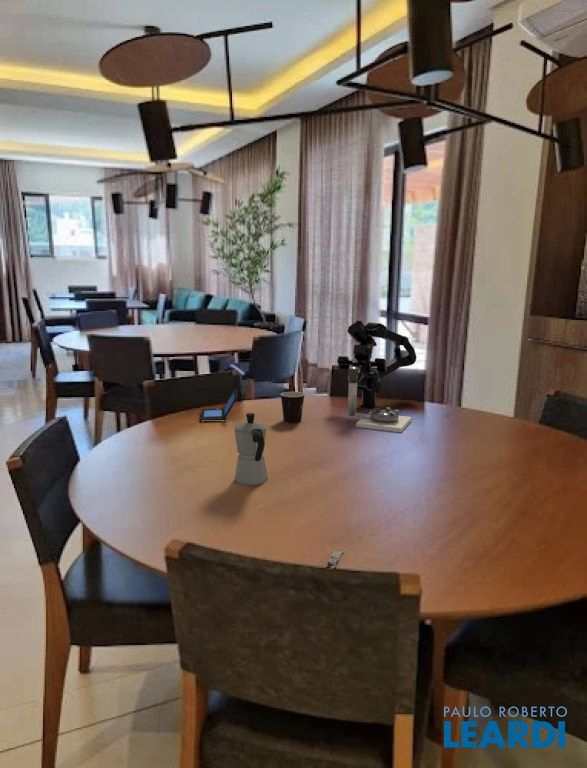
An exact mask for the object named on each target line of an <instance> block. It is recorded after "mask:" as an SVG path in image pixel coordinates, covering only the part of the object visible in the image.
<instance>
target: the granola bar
mask: <svg viewBox="0 0 587 768" xmlns="http://www.w3.org/2000/svg"><path fill="white" fill-rule="evenodd" d="M343 554H345V551H343V550H342V551H341V550H340V551H339V550H334V549H333V550H332V553H331V555H330V557H329V559H328V560H327V563H326V565H325V566H324V567H332V566H335V567H336V568H337V566H338V564H339V562H340V559H341V558H342V556H343Z"/></svg>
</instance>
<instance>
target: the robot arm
mask: <svg viewBox="0 0 587 768" xmlns="http://www.w3.org/2000/svg"><path fill="white" fill-rule="evenodd" d="M347 333H348V334H349V336H350V337H351V338H352V340H354V342H356V343H359V344H354V345H353V354H354V355H353V357H354V358H352V359H350V358H349V356H347V355H345V356H343V355H339V356H338V357H337V360H336V362H337V366H338V368H339V370H341V371H342V370H347V371H349V367H358V383H357V391H361V403H359V404H358V407H366V408H373V409H374V408H375V407H377V406H378V405H379V403H378V402H377V394H379V393H381V391H382V388H383V387H382V385H381V383H380V381H381V380H382V379H383V378H385V377H387V376H388V375H391V374H392V373H393V372H395V371H396V370H398V369H400V368H402V367H403V368H404V367H409V366H412V365H414V364H415V363H416V361H417V354H416V351H415V347H414V346H413V344H411V343H410V340H409V337H407V336H406V335H402V334H400V333H397V332H394V331H392V330H390V329H388V327H387V326H386V325H384V324H383V323H380V322H372V321H371V322H370V321H369V322H367V323H366V324H365V325H364V323H363V322H362V321H361V320H356V322H354V323H352V324H351V325H349V326H348V327H347ZM374 338H379V339H383V340H385V341H388V342H390V343H393V344H394V351H393V352H394V355H393V358H392V359H389V360H388V361H387V360H386V358H382V357H381V358H379V357H376V358H374V361H373V360H371V359H372V357H373V356H372V355H373V352H374V351H373V350H374V347H377V342H376V341H375V339H374ZM401 346H403V348H404V349H405V350H404V349H403V350H402V349H401ZM373 367H375V368H374V369H373Z"/></svg>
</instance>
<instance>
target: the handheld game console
mask: <svg viewBox="0 0 587 768" xmlns="http://www.w3.org/2000/svg"><path fill="white" fill-rule="evenodd" d="M237 400H238V395H237V389H236V388H235V389H234V390H233V391H232V393H231V395H230V396H229V398H228V400H227V401H226V402H225V405H223V406H222V407H221V408H219V407H217V408H203V409H201V412H202V413H201V414H200V421H201V420H226V421H227V416H228V415H229V413H230V411H231V410H232V408H233V406H234V405H235V403H236V402H237Z"/></svg>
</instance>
